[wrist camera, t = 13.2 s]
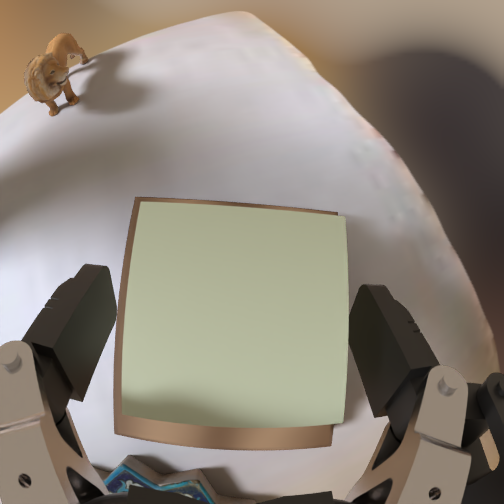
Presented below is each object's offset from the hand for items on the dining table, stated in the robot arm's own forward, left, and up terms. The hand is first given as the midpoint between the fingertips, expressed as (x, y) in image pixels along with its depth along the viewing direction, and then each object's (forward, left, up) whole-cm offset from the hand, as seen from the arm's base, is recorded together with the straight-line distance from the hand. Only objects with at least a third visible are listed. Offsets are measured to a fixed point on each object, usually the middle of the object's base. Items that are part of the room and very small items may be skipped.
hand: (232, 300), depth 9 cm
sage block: (0, -1, -7) cm, 7 cm away
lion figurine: (-20, +23, -12) cm, 33 cm away
